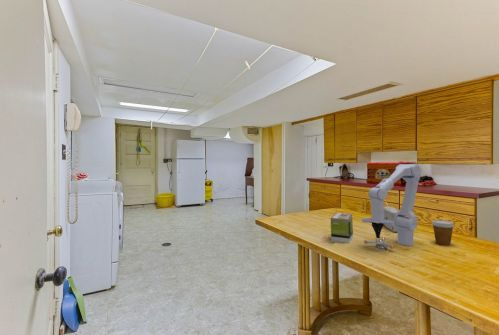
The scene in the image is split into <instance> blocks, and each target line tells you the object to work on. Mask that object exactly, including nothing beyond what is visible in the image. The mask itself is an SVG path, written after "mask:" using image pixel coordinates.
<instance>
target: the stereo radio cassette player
mask: <svg viewBox="0 0 499 335" xmlns="http://www.w3.org/2000/svg"><path fill="white" fill-rule="evenodd" d="M384 203H385V204H386V205H387V206H384V220H391V221H394V218H395V216H396V213H397V212H399V211H400V210H401V209H398V208H395V207H393V206H389V204H388V203H387V201H386V200H384ZM403 217H407V216H403ZM383 227H385V228H387V229H389V230H390V231H391V232H393V233H398V228H396V226H395V225H394V226H393V225H386V224H384V226H383Z"/></svg>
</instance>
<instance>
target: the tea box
mask: <svg viewBox="0 0 499 335" xmlns="http://www.w3.org/2000/svg"><path fill="white" fill-rule="evenodd" d="M330 233H331V234H330V240H331V241H330V242H331V243H332V244H335V243H336V242H337V243H346V244H350V242H352V240H353V237H354V228H353V213H344V212H335V213H334V214H333V215H332V216H331V217H330Z"/></svg>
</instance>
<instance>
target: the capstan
mask: <svg viewBox="0 0 499 335" xmlns="http://www.w3.org/2000/svg"><path fill="white" fill-rule="evenodd" d="M385 240H386V238H385V237H380V238H375V240H366V239H365V240H364V241H363V244H374V245H375V247H376V248H377V249H380V250H386V249H387V250H388V248H390V249H391V250H392V249H394V248H395V246H394V245H393V244H390V243H388V242H385Z"/></svg>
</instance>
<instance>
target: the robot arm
mask: <svg viewBox="0 0 499 335" xmlns="http://www.w3.org/2000/svg"><path fill="white" fill-rule="evenodd" d="M421 173H422V168H421V166H420V165H419V164H417V163H414V164H413V163H411V164H409V163H408V164H406V163H405V164H403V163H399V164H397V166H396V167H395V170H394V172H393V173H391V175H390V176H389V177H388V178H383V179H381V181H380V182H379V183H378V184H377V185H376V186H375V187H371V188H370V189H369V190H368V193H367V196H368V197H369V201H370V207H371V211H370V212H371V214H370V215H371V217H369V218H367V217H362V219H361V223H369V224H371V227H372V229H373V231H374V233H375V239H381V234H382V230H383V228H384V227H385V226H384V224H386V225H393V226H394V225H395V226H396V228H398V232H397V244H399V245H401V246H402V245H403V246H408V247H410V246H411V247H412V246H414V231H415V230H416V229H417V227H418V216H417V215H416V214H415V213H414V208H415V202H416V196H417V191H418V185H419V181H420V178H421ZM400 179H403V181H405V182H406V183H405V188H404V193H403V198H402V199H403V200H402V203H401V208H400V209H399V210H400V211H399V212H397V213H396V216H395V218H394V221H391V220H384V207H385V205H384V203H385V199H386V198H387V194H388V193H389V191H391V190H392V189H393V188H394V187H395V186H394V185H395V183H396V182H397V181H399V180H400ZM403 216H406V217H403Z"/></svg>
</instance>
